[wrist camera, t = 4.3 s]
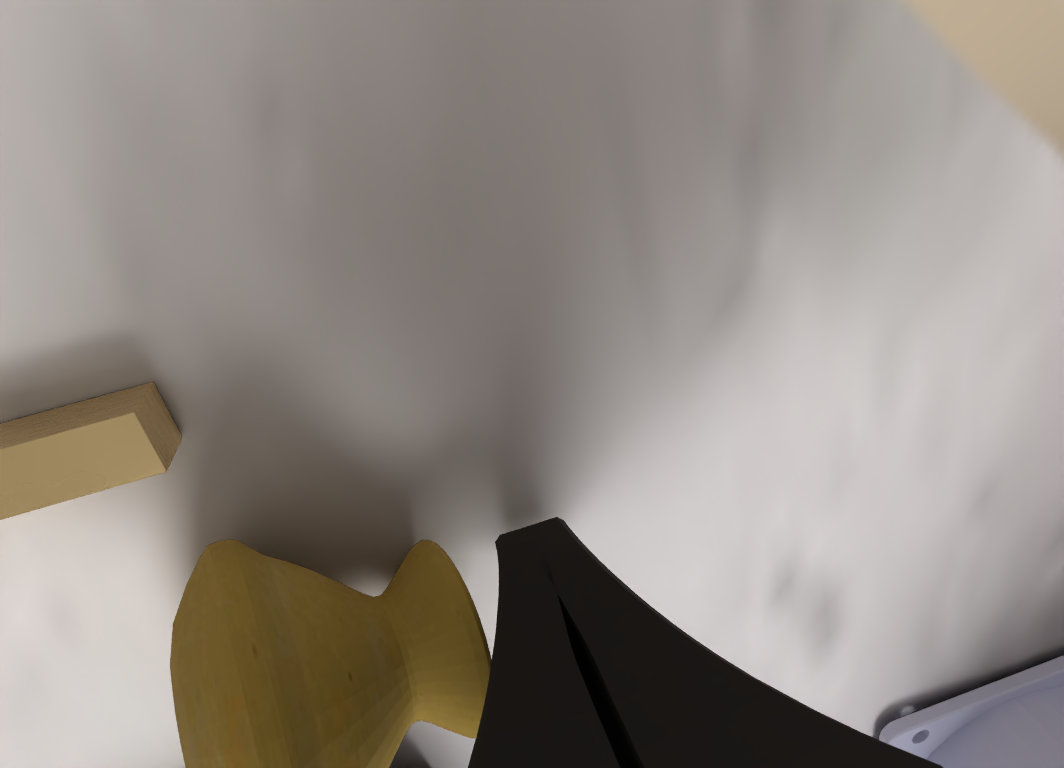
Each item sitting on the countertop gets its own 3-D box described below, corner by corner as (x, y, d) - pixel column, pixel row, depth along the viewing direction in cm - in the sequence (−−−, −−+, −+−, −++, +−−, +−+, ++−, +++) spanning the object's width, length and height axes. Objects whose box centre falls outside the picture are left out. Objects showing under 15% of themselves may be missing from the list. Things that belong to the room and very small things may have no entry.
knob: (224, 708, 13) (158, 1040, 8) (170, 481, 11) (44, 770, 6) (467, 666, 14) (521, 943, 10) (464, 453, 12) (532, 683, 7)
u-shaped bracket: (152, 381, 10) (131, 416, 9) (354, 765, 14) (355, 815, 13) (-499, 559, 9) (-604, 619, 8) (-67, 914, 13) (-99, 980, 12)
